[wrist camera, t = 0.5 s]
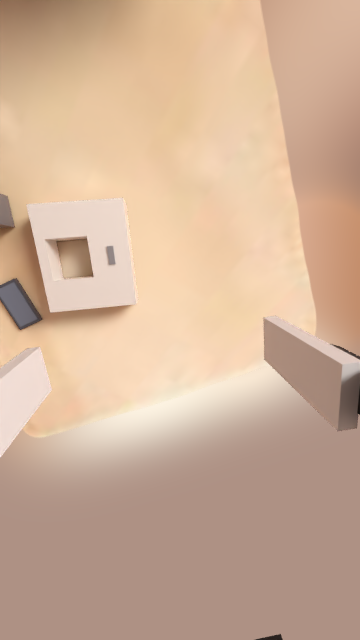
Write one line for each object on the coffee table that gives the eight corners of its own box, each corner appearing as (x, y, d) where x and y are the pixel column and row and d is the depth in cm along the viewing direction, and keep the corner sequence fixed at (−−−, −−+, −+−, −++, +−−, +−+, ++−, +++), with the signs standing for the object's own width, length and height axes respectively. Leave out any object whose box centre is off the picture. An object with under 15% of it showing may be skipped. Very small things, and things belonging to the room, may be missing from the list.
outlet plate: (40, 209, 35) (25, 203, 31) (126, 203, 36) (122, 197, 32) (60, 306, 39) (49, 312, 35) (138, 299, 40) (136, 304, 36)
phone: (-3, 288, 38) (-8, 288, 37) (17, 278, 38) (13, 278, 37) (23, 328, 40) (20, 330, 39) (43, 318, 40) (40, 320, 39)
